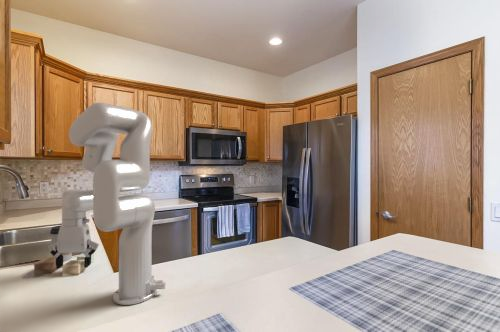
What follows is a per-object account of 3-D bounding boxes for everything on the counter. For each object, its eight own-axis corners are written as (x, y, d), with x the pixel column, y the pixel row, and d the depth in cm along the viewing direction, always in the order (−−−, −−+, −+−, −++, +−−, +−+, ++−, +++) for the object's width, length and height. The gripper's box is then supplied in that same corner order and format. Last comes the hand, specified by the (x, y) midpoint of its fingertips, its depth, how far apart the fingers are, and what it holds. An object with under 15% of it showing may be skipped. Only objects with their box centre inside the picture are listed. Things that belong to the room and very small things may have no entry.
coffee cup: (61, 265, 107) (61, 229, 107) (45, 264, 109) (44, 228, 109) (78, 258, 115) (78, 224, 115) (63, 257, 117) (62, 224, 117)
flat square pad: (71, 266, 106) (71, 264, 106) (54, 278, 95) (54, 275, 95) (41, 267, 105) (41, 266, 105) (21, 279, 94) (21, 277, 94)
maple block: (85, 272, 101) (85, 259, 101) (78, 278, 95) (78, 265, 95) (70, 273, 100) (70, 260, 100) (62, 279, 94) (62, 265, 94)
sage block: (94, 264, 108) (94, 252, 108) (88, 268, 104) (88, 256, 104) (82, 265, 108) (82, 253, 108) (76, 269, 103) (76, 257, 103)
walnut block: (61, 267, 103) (61, 257, 103) (51, 273, 97) (51, 263, 97) (44, 268, 102) (44, 258, 102) (34, 274, 97) (34, 263, 97)
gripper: (102, 219, 102) (102, 262, 103) (55, 220, 100) (54, 263, 100) (93, 224, 95) (93, 270, 95) (42, 224, 93) (42, 272, 93)
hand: (73, 266), depth 98 cm, fingers open, 9 cm apart
